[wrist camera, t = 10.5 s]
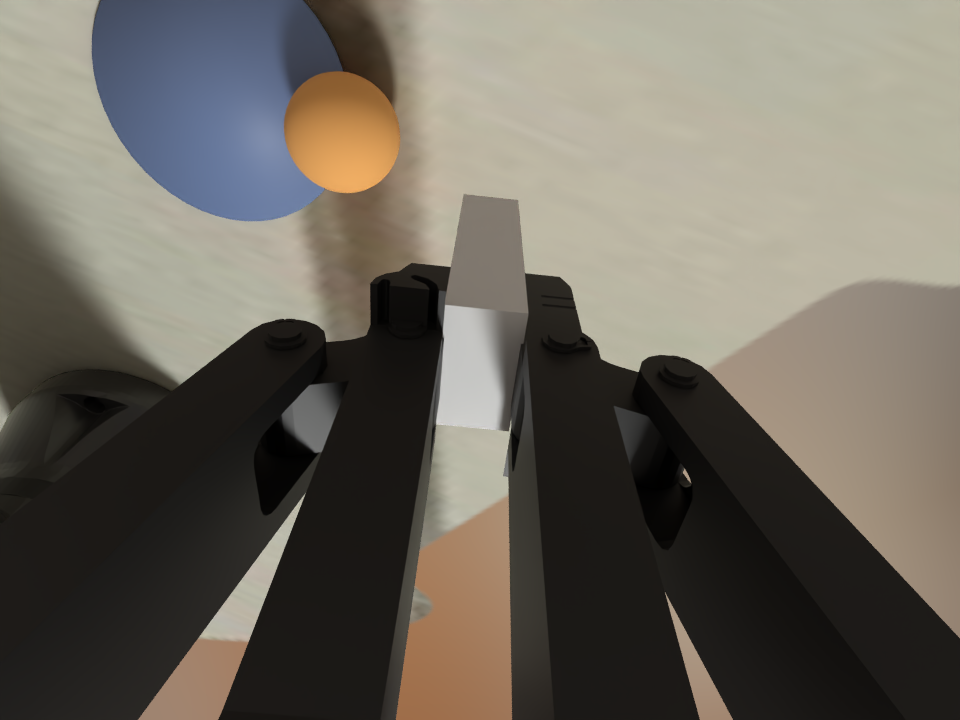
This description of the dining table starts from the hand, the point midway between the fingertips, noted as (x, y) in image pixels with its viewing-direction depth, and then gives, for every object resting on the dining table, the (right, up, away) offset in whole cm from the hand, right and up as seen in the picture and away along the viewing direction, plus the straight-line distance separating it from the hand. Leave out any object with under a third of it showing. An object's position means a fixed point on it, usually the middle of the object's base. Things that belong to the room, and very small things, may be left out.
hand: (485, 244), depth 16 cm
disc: (-13, +10, +13) cm, 22 cm away
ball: (-7, +8, +12) cm, 15 cm away
